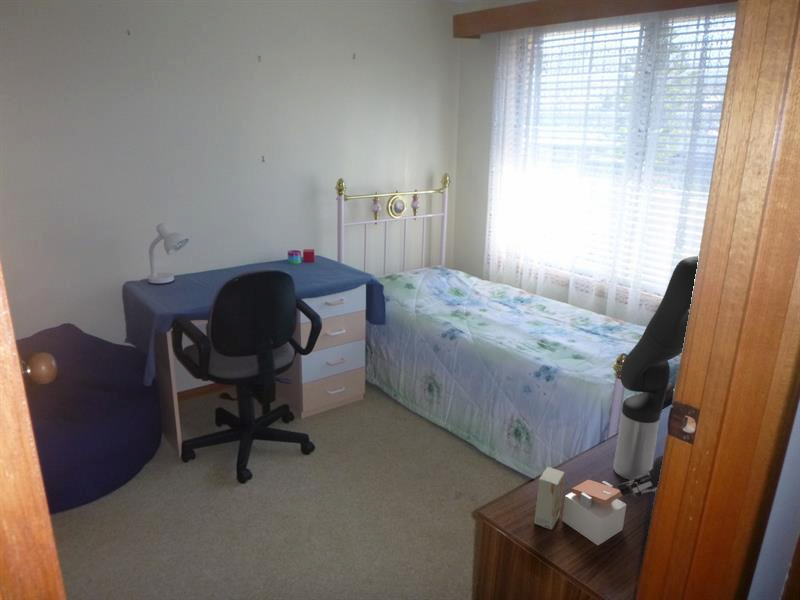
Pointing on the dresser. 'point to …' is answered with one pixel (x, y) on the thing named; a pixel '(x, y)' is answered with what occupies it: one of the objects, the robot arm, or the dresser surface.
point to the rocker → (597, 492)
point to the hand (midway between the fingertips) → (621, 489)
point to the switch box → (594, 516)
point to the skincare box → (549, 497)
